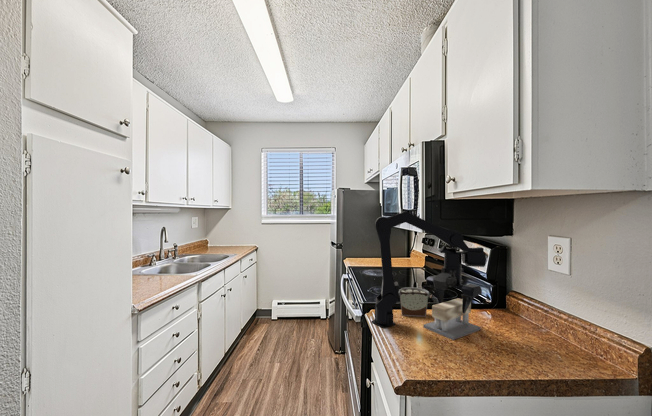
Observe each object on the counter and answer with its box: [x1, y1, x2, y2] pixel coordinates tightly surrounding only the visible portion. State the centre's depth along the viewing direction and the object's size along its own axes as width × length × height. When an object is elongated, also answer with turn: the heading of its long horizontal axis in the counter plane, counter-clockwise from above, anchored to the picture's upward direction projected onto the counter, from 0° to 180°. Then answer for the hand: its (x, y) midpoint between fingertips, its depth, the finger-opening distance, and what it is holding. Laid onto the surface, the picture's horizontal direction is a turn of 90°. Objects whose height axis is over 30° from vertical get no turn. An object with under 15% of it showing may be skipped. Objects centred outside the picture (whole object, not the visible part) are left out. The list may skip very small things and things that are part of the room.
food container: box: [398, 286, 431, 317], centre depth 123 cm, size 12×6×10 cm, turn 84°
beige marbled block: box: [431, 297, 472, 321], centre depth 108 cm, size 16×5×4 cm, turn 125°
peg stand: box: [422, 313, 482, 341], centre depth 108 cm, size 12×16×5 cm
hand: (452, 309), depth 108 cm, fingers open, 9 cm apart
